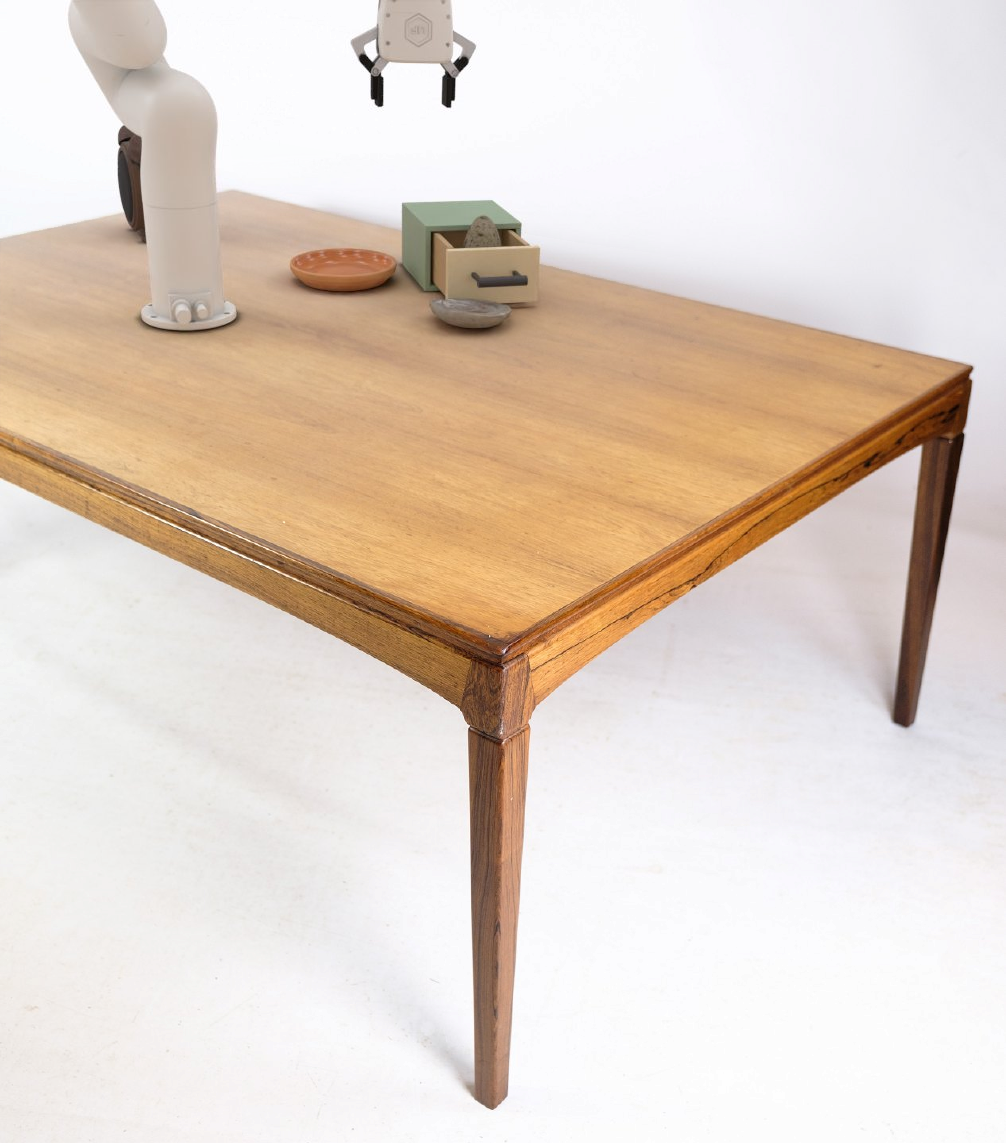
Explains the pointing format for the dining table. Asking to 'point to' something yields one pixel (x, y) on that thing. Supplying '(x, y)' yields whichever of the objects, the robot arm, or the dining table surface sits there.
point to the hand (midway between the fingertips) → (412, 106)
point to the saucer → (343, 268)
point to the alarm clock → (131, 178)
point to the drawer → (485, 268)
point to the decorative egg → (482, 234)
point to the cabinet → (442, 229)
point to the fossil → (470, 312)
